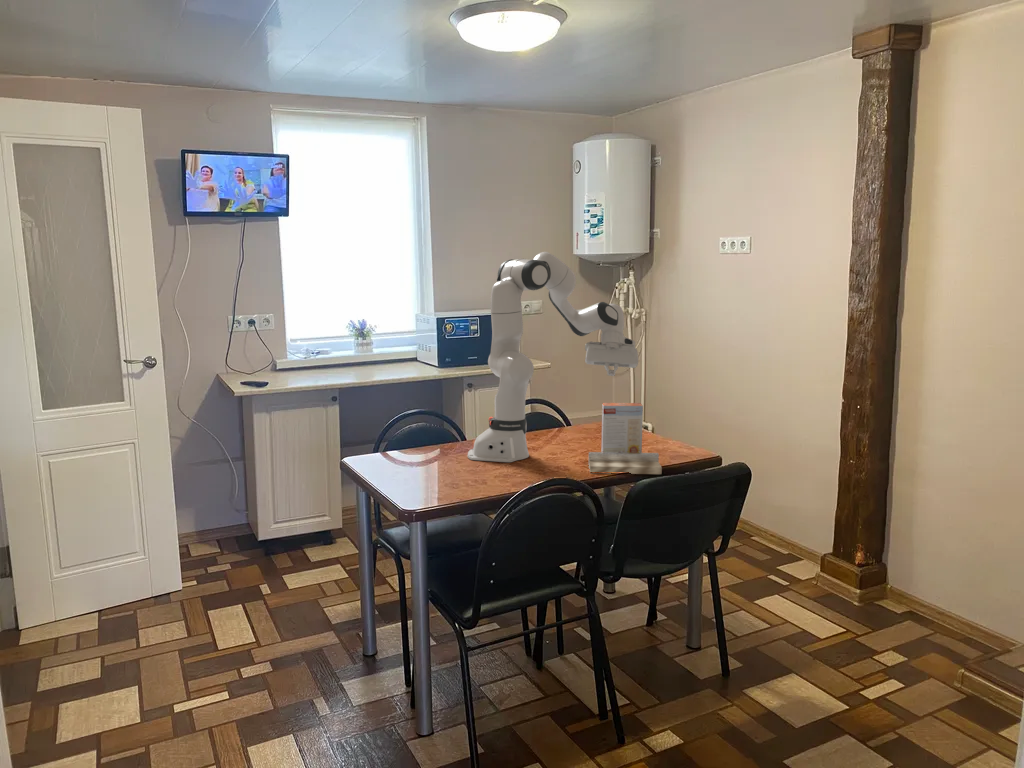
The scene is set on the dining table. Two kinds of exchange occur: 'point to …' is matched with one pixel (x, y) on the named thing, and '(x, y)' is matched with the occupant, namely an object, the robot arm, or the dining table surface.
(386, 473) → the dining table surface
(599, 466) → the birch plank
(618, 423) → the cracker box
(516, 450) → the robot arm
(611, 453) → the edge rail
